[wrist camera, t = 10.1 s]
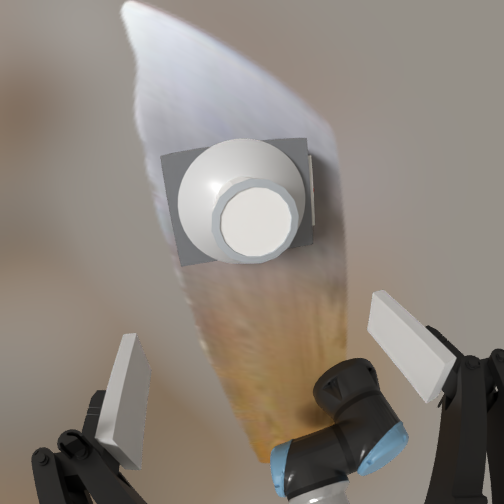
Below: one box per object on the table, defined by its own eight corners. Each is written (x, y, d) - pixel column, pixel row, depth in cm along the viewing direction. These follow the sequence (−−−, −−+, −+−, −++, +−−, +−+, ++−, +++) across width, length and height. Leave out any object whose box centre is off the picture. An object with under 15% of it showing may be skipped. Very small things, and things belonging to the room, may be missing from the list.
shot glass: (266, 242, 30) (284, 271, 23) (201, 229, 28) (202, 256, 21) (284, 179, 27) (310, 191, 21) (217, 162, 26) (223, 168, 19)
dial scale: (296, 225, 40) (324, 249, 31) (185, 242, 38) (181, 274, 29) (289, 134, 35) (318, 132, 26) (169, 149, 33) (157, 151, 24)
